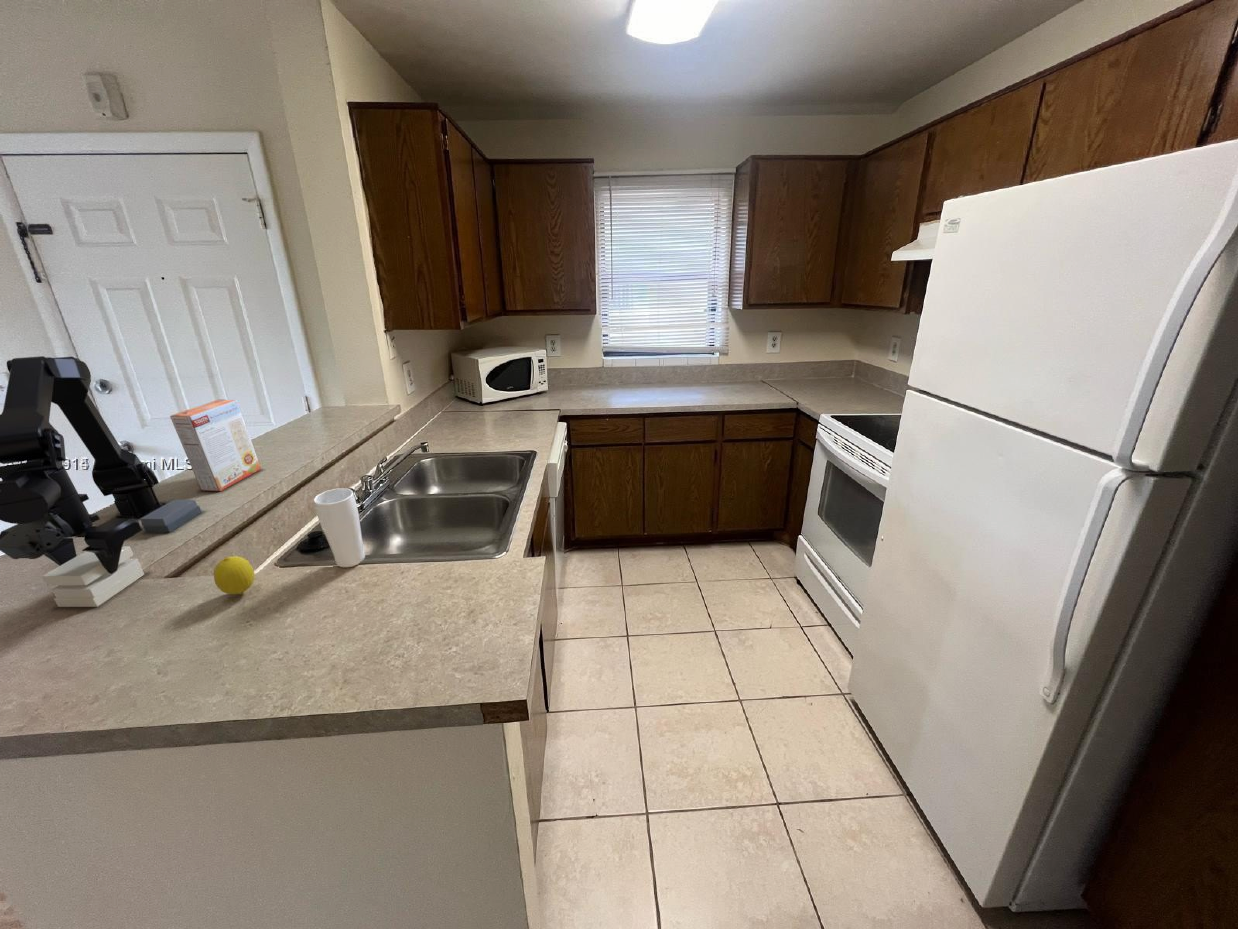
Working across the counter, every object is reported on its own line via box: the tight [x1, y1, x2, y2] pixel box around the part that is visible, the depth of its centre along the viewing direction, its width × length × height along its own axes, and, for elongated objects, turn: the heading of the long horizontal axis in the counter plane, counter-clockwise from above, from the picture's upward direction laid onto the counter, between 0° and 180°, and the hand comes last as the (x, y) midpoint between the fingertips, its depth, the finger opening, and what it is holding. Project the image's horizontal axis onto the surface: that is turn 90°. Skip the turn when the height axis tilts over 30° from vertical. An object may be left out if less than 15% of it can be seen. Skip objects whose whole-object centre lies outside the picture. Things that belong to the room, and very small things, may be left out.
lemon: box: [213, 555, 255, 595], centre depth 85 cm, size 6×6×8 cm
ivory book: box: [41, 545, 134, 586], centre depth 85 cm, size 9×7×2 cm
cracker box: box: [169, 398, 262, 492], centre depth 125 cm, size 14×6×21 cm, turn 174°
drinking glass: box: [313, 487, 366, 568], centre depth 93 cm, size 7×7×15 cm
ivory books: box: [51, 558, 145, 608], centre depth 86 cm, size 9×7×4 cm
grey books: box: [139, 499, 202, 534], centre depth 108 cm, size 9×5×4 cm, turn 1°
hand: (94, 572), depth 86 cm, fingers closed on ivory book, 6 cm apart
